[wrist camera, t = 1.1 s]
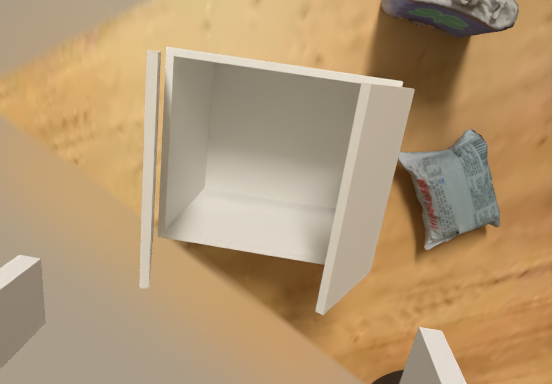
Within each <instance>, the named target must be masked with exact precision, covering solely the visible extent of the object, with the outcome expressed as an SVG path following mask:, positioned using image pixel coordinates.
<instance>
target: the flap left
mask: <svg viewBox="0 0 552 384" xmlns="http://www.w3.org/2000/svg"><path fill="white" fill-rule="evenodd" d="M160 63H161V51H154V50H151V51H147V61H146V93H145V125H144V157H143V189H142V221H141V254H140V287H139V288H149V278H150V266H151V255H152V243H153V229H154V205H155V182H156V158H157V134H158V110H159V87H160Z"/></svg>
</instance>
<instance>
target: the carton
mask: <svg viewBox="0 0 552 384" xmlns="http://www.w3.org/2000/svg"><path fill="white" fill-rule="evenodd" d="M361 82H362V83H371V84H379V85H388V86H397V87H402V85H403V81H398V80H391V79H384V78H377V77H370V76H363V75H357V74H350V73H343V72H336V71H329V70H323V69H316V68H309V67H302V66H295V65H288V64H282V63H275V62H268V61H261V60H254V59H247V58H241V57H234V56H227V55H220V54H213V53H207V52H200V51H193V50H186V49H179V48H172V47H166V69H165V91H164V112H163V134H162V155H161V177H160V199H159V220H158V237H163V238H169V239H175V240H181V241H186V242H192V243H198V244H204V245H210V246H216V247H222V248H228V249H234V250H240V251H246V252H252V253H258V254H263V255H269V256H275V257H281V258H287V259H293V260H299V261H305V262H311V263H317V264H323V265H325V261H326V256H327V251H328V246H329V241H330V236H331V231H332V226H333V221H334V216H335V211H336V206H337V201H338V196H339V191H340V187H341V182H342V177H343V172H344V167H345V162H346V157H347V152H348V147H349V142H350V137H351V132H352V127H353V122H354V117H355V112H356V107H357V102H358V97H359V92H360V87H361Z"/></svg>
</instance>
